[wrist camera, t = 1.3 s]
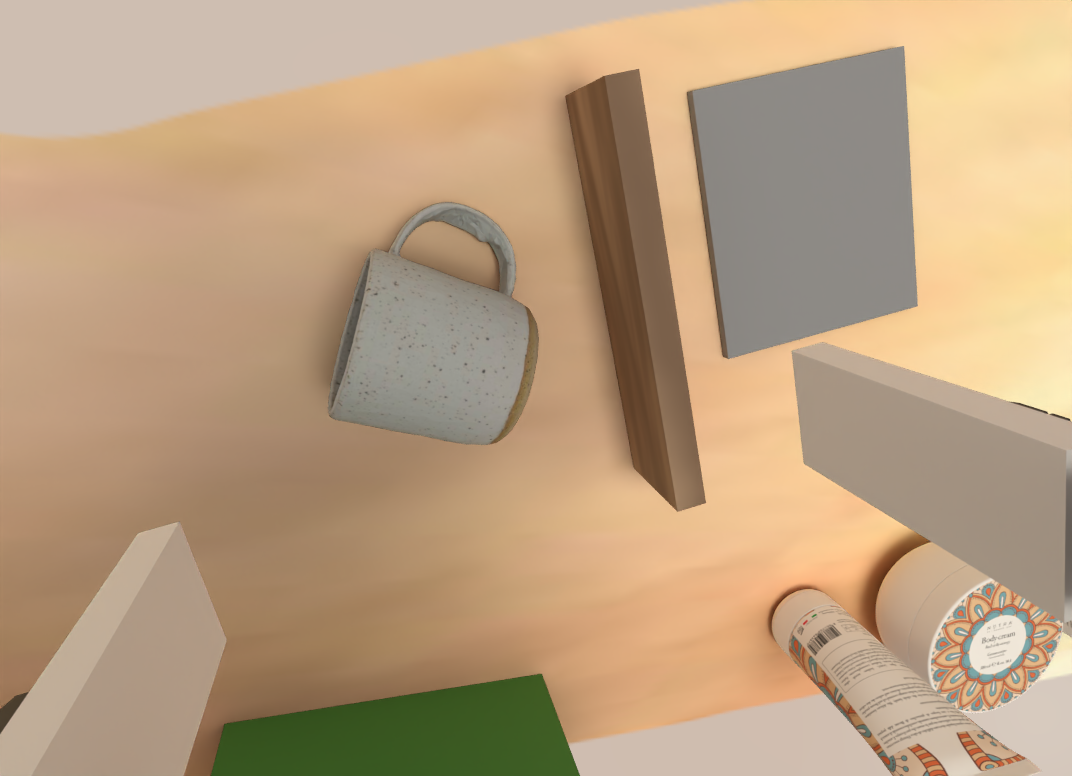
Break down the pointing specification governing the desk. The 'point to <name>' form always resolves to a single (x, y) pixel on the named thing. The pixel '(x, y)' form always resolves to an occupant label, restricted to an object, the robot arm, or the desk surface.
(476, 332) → the ceramic mug
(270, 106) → the desk surface
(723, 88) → the mat
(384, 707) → the hardback book
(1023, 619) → the cosmetic set
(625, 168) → the walnut screen
